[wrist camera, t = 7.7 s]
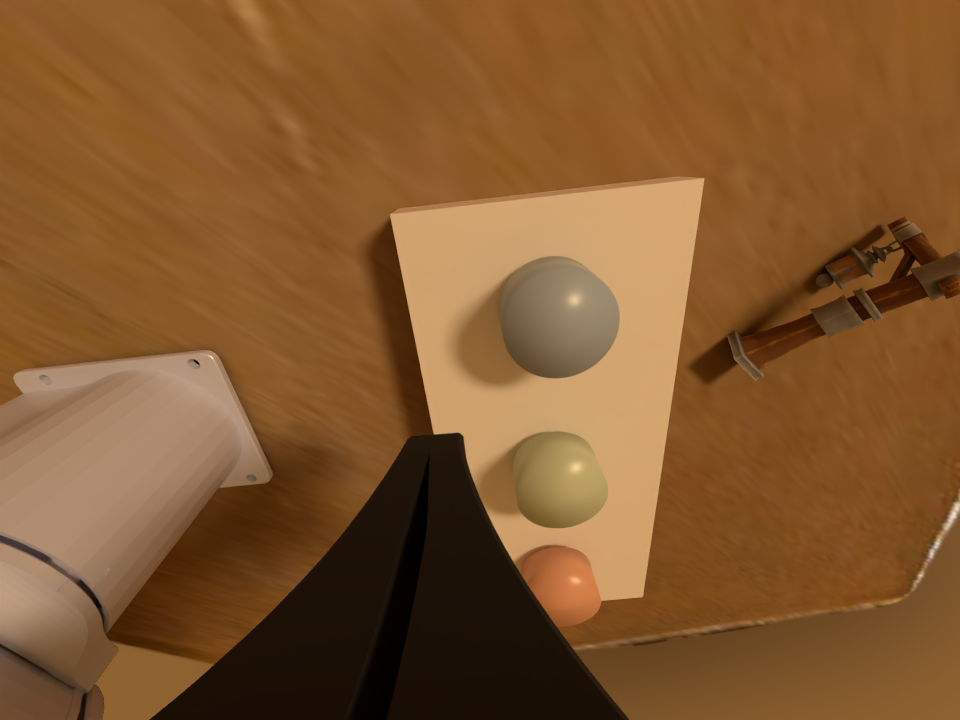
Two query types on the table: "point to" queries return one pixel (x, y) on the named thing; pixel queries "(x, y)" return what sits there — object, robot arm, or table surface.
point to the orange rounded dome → (563, 584)
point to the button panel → (561, 401)
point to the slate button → (557, 317)
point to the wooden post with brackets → (857, 296)
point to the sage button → (558, 480)
